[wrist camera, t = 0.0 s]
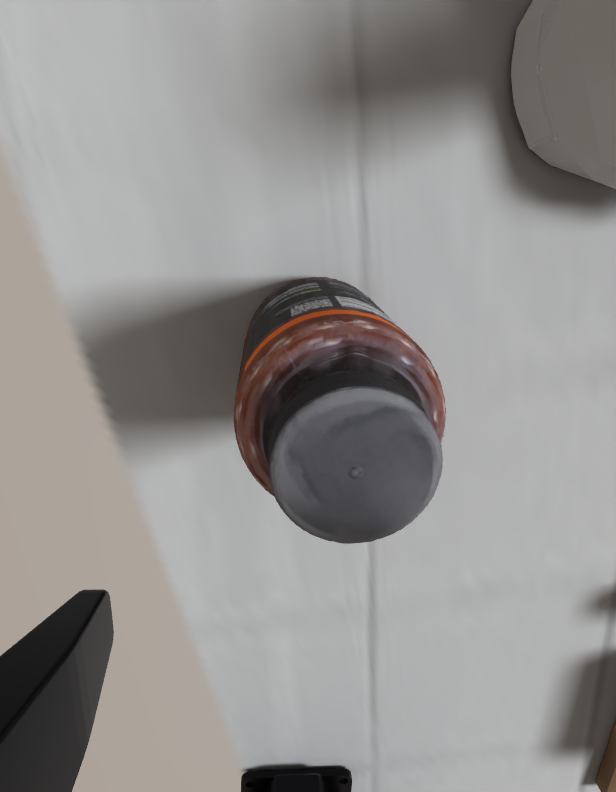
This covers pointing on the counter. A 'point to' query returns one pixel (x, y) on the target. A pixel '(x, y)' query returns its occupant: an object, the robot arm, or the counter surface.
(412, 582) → the counter surface
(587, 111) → the iron
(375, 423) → the supplement bottle
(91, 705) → the robot arm
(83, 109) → the counter surface
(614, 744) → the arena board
